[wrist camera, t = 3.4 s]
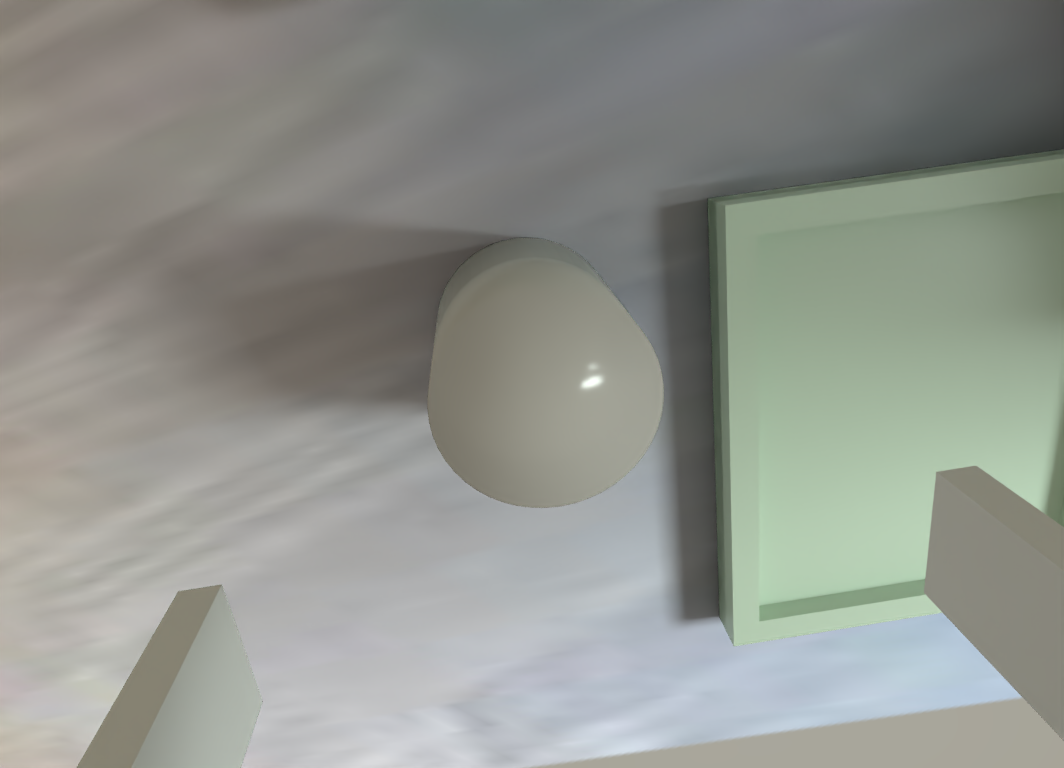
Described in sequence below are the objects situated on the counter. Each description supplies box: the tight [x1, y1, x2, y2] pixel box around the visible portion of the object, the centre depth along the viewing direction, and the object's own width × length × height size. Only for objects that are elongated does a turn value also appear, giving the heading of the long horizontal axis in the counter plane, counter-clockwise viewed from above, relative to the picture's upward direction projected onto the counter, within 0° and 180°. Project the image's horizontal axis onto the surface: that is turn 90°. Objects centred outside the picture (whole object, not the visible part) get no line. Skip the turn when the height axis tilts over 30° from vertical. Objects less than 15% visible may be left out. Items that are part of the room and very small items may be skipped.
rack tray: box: [708, 149, 1064, 646], centre depth 30 cm, size 20×17×2 cm
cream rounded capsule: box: [427, 238, 664, 508], centre depth 25 cm, size 7×7×8 cm
